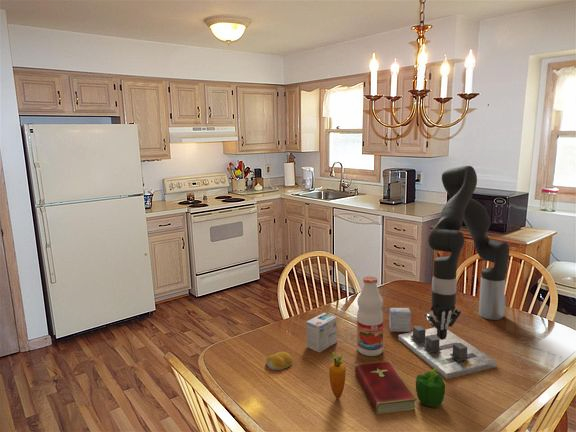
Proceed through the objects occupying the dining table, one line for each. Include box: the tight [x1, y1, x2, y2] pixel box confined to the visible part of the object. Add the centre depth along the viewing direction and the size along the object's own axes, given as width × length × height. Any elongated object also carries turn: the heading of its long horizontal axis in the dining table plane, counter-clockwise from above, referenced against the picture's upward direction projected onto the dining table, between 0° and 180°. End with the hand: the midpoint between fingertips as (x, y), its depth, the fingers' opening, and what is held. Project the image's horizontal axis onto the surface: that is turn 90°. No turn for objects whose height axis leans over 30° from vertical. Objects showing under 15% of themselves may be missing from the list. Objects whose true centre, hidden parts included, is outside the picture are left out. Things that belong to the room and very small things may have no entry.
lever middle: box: [424, 335, 441, 352], centre depth 146 cm, size 4×4×4 cm
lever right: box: [411, 325, 426, 342], centre depth 153 cm, size 4×4×4 cm
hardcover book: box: [354, 360, 418, 416], centre depth 127 cm, size 12×21×4 cm, turn 7°
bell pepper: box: [415, 368, 446, 409], centre depth 120 cm, size 8×8×10 cm
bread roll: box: [266, 351, 293, 371], centre depth 144 cm, size 8×9×4 cm
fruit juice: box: [356, 275, 384, 357], centre depth 149 cm, size 9×9×28 cm
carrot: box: [328, 352, 347, 400], centre depth 123 cm, size 5×5×15 cm
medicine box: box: [388, 307, 412, 333], centre depth 166 cm, size 8×4×9 cm, turn 84°
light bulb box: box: [305, 312, 338, 353], centre depth 156 cm, size 11×7×11 cm, turn 134°
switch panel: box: [397, 327, 497, 380], centre depth 148 cm, size 20×28×2 cm
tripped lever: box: [450, 343, 469, 361], centre depth 140 cm, size 4×4×4 cm
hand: (441, 338), depth 137 cm, fingers closed
